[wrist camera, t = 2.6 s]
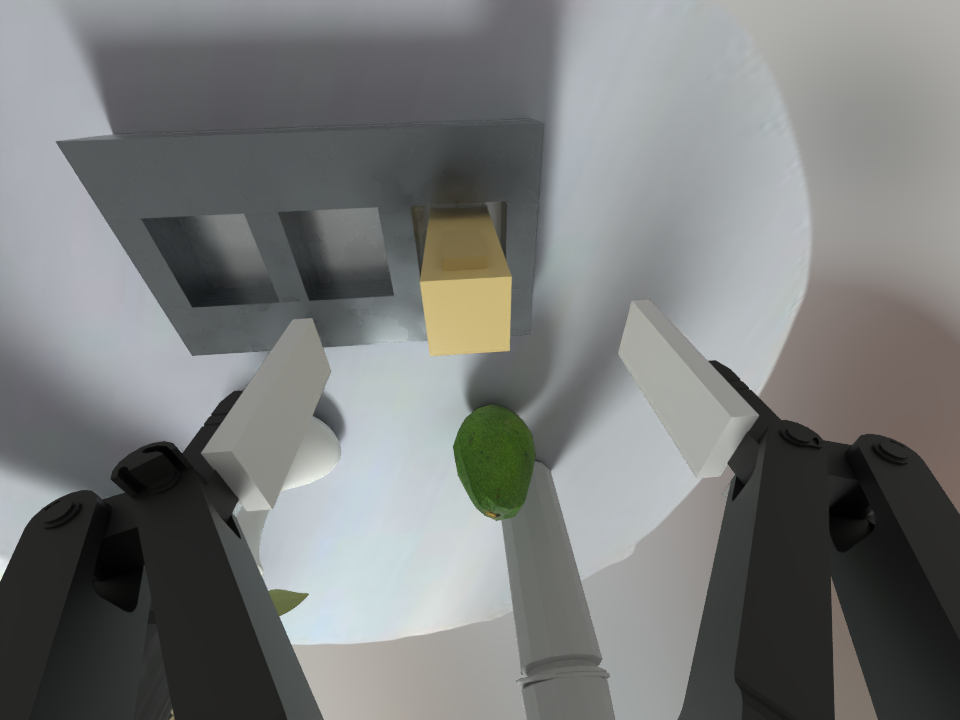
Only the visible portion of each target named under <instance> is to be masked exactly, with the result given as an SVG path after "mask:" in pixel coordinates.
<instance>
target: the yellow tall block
mask: <svg viewBox="0 0 960 720" xmlns="http://www.w3.org/2000/svg"><path fill="white" fill-rule="evenodd" d="M511 285H512V276H511V273H510V270H509V267H508V265H507V262H506V259H505V256H504V253H503V250H502V248H501V245H500V242H499V239H498V236H497V234H496V231H495V228H494V225H493V222H492V219H491V217H490V214H489V211H488V208H487V207H470V208H449V209H430V214H429V221H428V228H427V235H426V242H425V249H424V256H423V263H422V270H421V277H420V286H421V294H422V301H423V308H424V315H425V323H426V330H427V337H428V344H429V352H430V356H441V355H456V354H471V353H486V352H502V351H510V320H511Z"/></svg>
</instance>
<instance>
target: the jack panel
mask: <svg viewBox="0 0 960 720" xmlns="http://www.w3.org/2000/svg"><path fill="white" fill-rule="evenodd" d="M543 131H544V123H542V122H539V121H536V120H532V119H516V120H489V121H462V122H435V123H408V124H381V125H354V126H327V127H300V128H274V129H247V130H220V131H193V132H166V133H139V134H112V135H104V136H96V137H88V138H80V139H72V140H64V141H56V143H57V145H58V146H59V148H60V149H61V151H62V152H63V154H64V155H65V157H66V159H67V160H68V162H69V163H70V165H71V166H72V168H73V170H74V171H75V173H76V174H77V176H78V177H79V179H80V181H81V182H82V184H83V185H84V187H85V188H86V190H87V192H88V193H89V195H90V196H91V198H92V199H93V201H94V203H95V204H96V206H97V207H98V209H99V210H100V212H101V214H102V215H103V217H104V218H105V220H106V221H107V223H108V224H109V226H110V228H111V229H112V231H113V232H114V234H115V235H116V237H117V239H118V240H119V242H120V243H121V245H122V246H123V248H124V250H125V251H126V253H127V254H128V256H129V257H130V259H131V261H132V262H133V264H134V265H135V267H136V268H137V270H138V272H139V273H140V275H141V276H142V278H143V279H144V281H145V282H146V284H147V286H148V287H149V289H150V290H151V292H152V293H153V295H154V297H155V298H156V300H157V301H158V303H159V304H160V306H161V308H162V309H163V311H164V312H165V314H166V315H167V317H168V319H169V320H170V322H171V323H172V325H173V326H174V328H175V330H176V331H177V333H178V334H179V336H180V337H181V339H182V340H183V342H184V344H185V345H186V347H187V348H188V350H189V351H190V353H191V355H192V356H196V355H211V354H227V353H243V352H259V351H271V350H272V349H273V348H274V346H275V345H276V343H277V342H278V340H279V339H280V337H281V336H282V334H283V333H284V332H285V330H286V329H287V327H288V326H289V324H290V323H291V321H292V320H293V319H307V318H312V319H313V322H314V324H315V327H316V330H317V333H318V336H319V338H320V341H321V344H322V347H337V346H353V345H369V344H384V343H400V342H416V341H428V337H427V330H426V323H425V315H424V308H423V301H422V294H421V286H420V277H421V270H422V263H423V256H424V249H425V242H426V235H427V228H428V221H429V214H430V209H449V208H470V207H487V208H488V211H489V214H490V217H491V219H492V222H493V225H494V228H495V231H496V234H497V236H498V239H499V242H500V245H501V248H502V250H503V253H504V256H505V259H506V262H507V265H508V267H509V270H510V273H511V276H512V285H511V320H510V335H526V334H530V322H531V307H532V292H533V278H534V263H535V248H536V234H537V219H538V204H539V189H540V175H541V160H542V145H543Z"/></svg>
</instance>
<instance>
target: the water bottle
mask: <svg viewBox="0 0 960 720" xmlns="http://www.w3.org/2000/svg"><path fill="white" fill-rule="evenodd" d="M501 521H502V529H503V536H504V544H505V552H506V560H507V567H508V575H509V583H510V591H511V599H512V606H513V614H514V621H515V630H516V638H517V645H518V653H519V660H520V669H521V674H522V675H525V676H528V677H525V678H520V679H518V680H516V684H517V685H519V686H522V690H521V696H522V701H523V706H524V711H525V717H526V720H615V716H614V711H613V706H612V701H611V696H610V691H609V686H608V681H607V680H606V679H608V678H609V677H610V674H609V673H607V671H606V670H604V669H602V668H600V667H598V665H599V664H600V662H601V660H602V656H601V653H600V649H599V646H598V642H597V638H596V635H595V631H594V627H593V624H592V620H591V616H590V613H589V609H588V606H587V602H586V598H585V595H584V591H583V588H582V584H581V580H580V576H579V573H578V569H577V565H576V562H575V558H574V555H573V551H572V547H571V544H570V540H569V536H568V533H567V529H566V525H565V522H564V518H563V515H562V511H561V507H560V504H559V500H558V496H557V493H556V489H555V485H554V482H553V478H552V475H551V471H550V470H549V469H548V468H547V467H546V466H545V465H544V464H543V463H541V462H538V461H535V462H534V468H533V473H532V478H531V482H530V485H529V489H528V493H527V497H526V500H525V503H524V504H523V506H522V507H521V509H520V510H519V511H518V513H517V514H516V516H515V517H512V518H509V519H504V520H501Z"/></svg>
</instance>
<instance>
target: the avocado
mask: <svg viewBox="0 0 960 720" xmlns="http://www.w3.org/2000/svg"><path fill="white" fill-rule="evenodd" d="M453 449H454V456H455V462H456V467H457V473H458V476H459V478H460V480H461V482H462V484H463V486H464V488H465V490H466V492H467V494H468V495H469V497H470V499H471V501H472V502H473V504H474V506H475V507H476V508H477V509H478V510H479V511H480V512H481V513H483V514H484V515H485V516H487V517H490V518H492V519H494V520H496V521H497V520H504V519H509V518H512V517H515V516H516V514H517V513H518V511H519V510H520V509H521V507H522V506H523V504H524V503H525V500H526V497H527V493H528V489H529V485H530V482H531V478H532V473H533V468H534V462H535V456H536V455H535V449H534V442H533V436H532V433H531V431H530V430H529V429H528V427H527V426H526V424H525V423H524V421H523V420H522V419H521V418H520V417H519V416H518V415H517V414H515V413H514V412H512V411H510V410H509V409H507V408H506V407H504V406H498V405H492V404H490V405H487V406H484V407H481V408H477V409H476V410H475V411H474V412H472V413H471V414H470V415H469V416H467V417H466V419H465V420H464V422H463V423H462V425H461V427H460V429H459V431H458V433H457V436H456V439H455V442H454V445H453Z"/></svg>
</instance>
